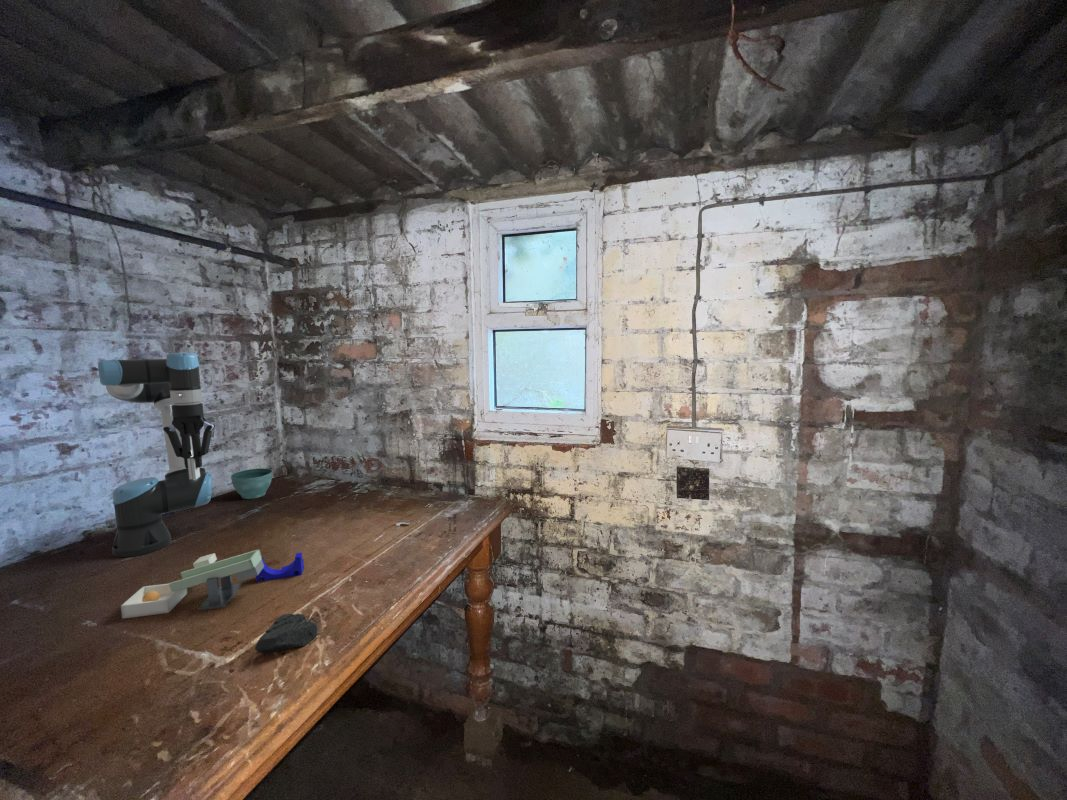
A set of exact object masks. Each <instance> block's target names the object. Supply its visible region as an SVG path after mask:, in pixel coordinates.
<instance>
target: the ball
mask: <svg viewBox="0 0 1067 800" xmlns="http://www.w3.org/2000/svg"><path fill="white" fill-rule="evenodd" d="M159 597H160V595H159V593H158V592H156V591H150V592H148V593H146V594H145V595H144V596H143V598H142V602H148V601H156V600H159Z"/></svg>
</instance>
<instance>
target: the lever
mask: <svg viewBox="0 0 1067 800" xmlns="http://www.w3.org/2000/svg"><path fill="white" fill-rule="evenodd" d="M262 558H263V557H262V552H261V550H260V549H255V550H251V551H248V552H245V553H241V554H239V555H235V556H231V557H229V558H225V559H221V560H218V558H217V556H216V553H210V554H207V555H203V556H199V557H198V559H196V560H195V561H194V562H193V564H192V565H193V567H194V568H191V569H188V570H183V571H181V572H180V576H181V578H182V579H178V580H175V581H172V582H168V584H169V586H170V588H171V591H172V592H176V591H179V590H183V589H186V588H187V589H189V588H192V587H195V586H198V585H199V586H200V585H203V584H204V583H205V584H207V582H206V580H207V579H208V578H217V577H218V580H220V579H221V578H222V577H225V576H229V575H231V576H232V575H235V577H236V578H237V581H238V582H241V581H244V580H247V579H250V578H254V577H256V576H257V575H258V574H259V573H260V572H261V570H262V569H263V567H264V564H263V561H262ZM217 560H218V561H217Z"/></svg>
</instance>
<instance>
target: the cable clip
mask: <svg viewBox="0 0 1067 800" xmlns="http://www.w3.org/2000/svg"><path fill="white" fill-rule="evenodd" d="M261 558H262V561H263V564H264V567H263V569H262V570H261V572H260V573H259V574H258V575H257V576H255V582H256V583H259V582H258V581H260V582H264V581H265V580H266V581H271V580H277V579H284V578H289V577H295V576H296V577H297V576H301V575H303V572H304V569H305V561H304V559H303V552H302V551H301V552H296V553H295V556H294V560H293V561H292V562H291V563H289V564H287V565H285V566H282V567H281V569H275V568H272V567H269V565H267V564H266V561H265V560H264V558H263V557H261ZM261 580H262V581H261Z"/></svg>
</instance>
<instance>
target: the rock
mask: <svg viewBox="0 0 1067 800" xmlns="http://www.w3.org/2000/svg"><path fill="white" fill-rule="evenodd" d="M317 634H318V625H317V624H316V622H315V621H307V620H306V615H305V614H302V613H296V614H295V613H285V614H281V615H280V616H278V617H277V618H275V620H274V622H273V624H272V625H270V626H269V628H268V629H266V631H265V632H264V634H262V635H261V636H260V637H259V639H258V641H257V642H256V644H255V646H254V651H257V652H258V653H260V654H270V653H274V652H278V651H282V650H283V651H284V650H286V649H287V650H288V649H291V648H298V647H305V646H306V645H307V644H309V642H311V641H312V640H314V639H315V637H316V636H317Z"/></svg>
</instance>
